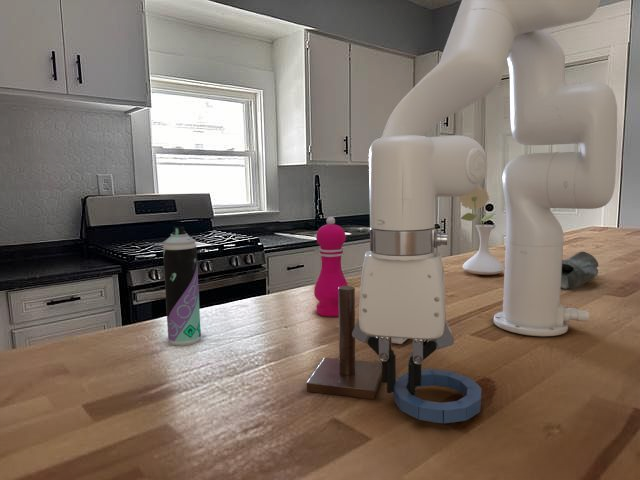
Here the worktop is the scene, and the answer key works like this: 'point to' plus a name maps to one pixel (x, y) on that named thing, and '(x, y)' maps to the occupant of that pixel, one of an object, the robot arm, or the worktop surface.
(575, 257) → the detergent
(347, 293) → the stand
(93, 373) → the worktop surface
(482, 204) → the flower in vase
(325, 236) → the pepper mill
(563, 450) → the worktop surface
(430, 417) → the ring
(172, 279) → the spray can
